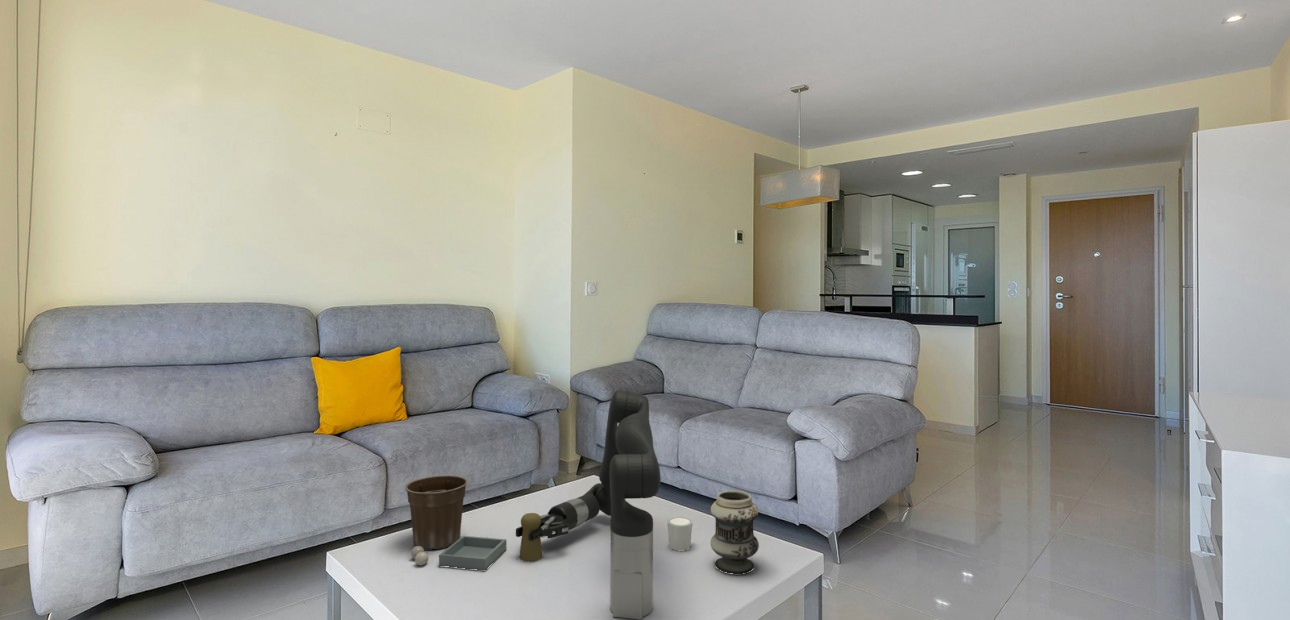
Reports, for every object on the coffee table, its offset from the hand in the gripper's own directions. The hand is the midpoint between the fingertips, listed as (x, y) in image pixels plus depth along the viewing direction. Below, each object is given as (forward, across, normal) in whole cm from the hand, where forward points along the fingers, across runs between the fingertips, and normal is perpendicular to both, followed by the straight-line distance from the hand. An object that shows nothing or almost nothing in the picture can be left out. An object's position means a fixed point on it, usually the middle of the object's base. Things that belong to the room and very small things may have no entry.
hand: (523, 535), depth 152 cm
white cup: (-31, +28, +7) cm, 42 cm away
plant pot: (+5, -28, +7) cm, 29 cm away
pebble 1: (+15, -23, +6) cm, 28 cm away
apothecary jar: (-28, +45, +7) cm, 54 cm away
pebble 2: (+17, -19, +6) cm, 26 cm away
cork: (-3, 0, +7) cm, 7 cm away
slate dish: (+7, -11, +6) cm, 15 cm away
